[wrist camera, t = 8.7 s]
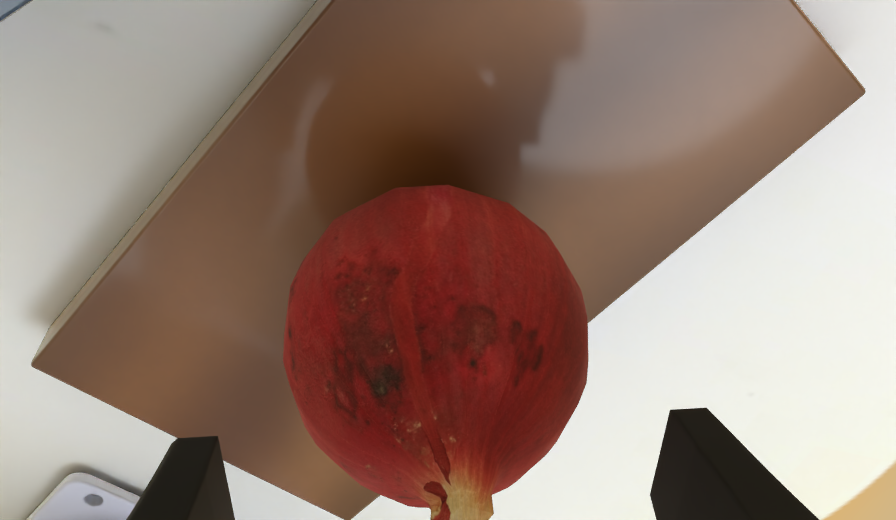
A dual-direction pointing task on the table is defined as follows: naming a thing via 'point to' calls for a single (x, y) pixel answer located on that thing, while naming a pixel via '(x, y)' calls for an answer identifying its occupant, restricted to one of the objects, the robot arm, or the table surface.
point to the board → (433, 183)
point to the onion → (435, 347)
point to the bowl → (11, 7)
